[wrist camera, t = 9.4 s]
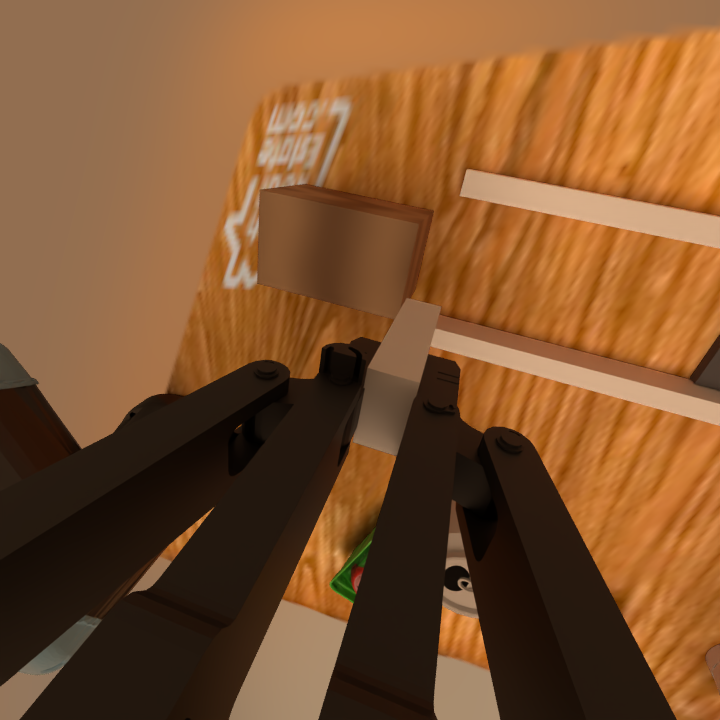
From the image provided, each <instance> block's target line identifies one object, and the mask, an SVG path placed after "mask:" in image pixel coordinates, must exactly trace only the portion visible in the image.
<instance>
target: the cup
mask: <svg viewBox="0 0 720 720" xmlns="http://www.w3.org/2000/svg"><path fill="white" fill-rule="evenodd" d="M706 662H707V665H708V667H709V669H710V672H711V674H712V676H713V678H714V680H715V683H716V686H717V689H718V691H719V694H720V644H719V645H716V646H714V647H712V648H711V649H710V650H709V651H708V652H707V654H706Z"/></svg>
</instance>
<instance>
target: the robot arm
mask: <svg viewBox="0 0 720 720" xmlns="http://www.w3.org/2000/svg"><path fill="white" fill-rule="evenodd" d="M440 310H441V306H437V305H433V304H429V303H425V302H421V301H417V300H413V299H409V298H406V300H405V302H404V304H403V305H402V307H401V309H400V311H399V313H398V314H397V316H396V318H395V320H394V321H393V323H392V325H391V327H390V329H389V330H388V332H387V334H386V336H385V338H384V339H383V341H382V343H381V342H377V341H374V340H370V339H366V338H363V337H360V338H357V339H355V340H353V341H351V343H350V344H344V343H332V344H328V345H326V346H324V347H323V348H322V352H321V360H320V367H319V373H318V374H317V376H316V377H315V378H314V379H297V378H290V371H289V369H288V367H286V366H285V365H283V364H282V363H279V362H276V361H272V360H270V361H269V360H261V361H255V362H252V363H249V364H247V365H245V366H243V367H241V368H239V369H237V370H235V371H233V372H232V373H230V374H228V375H226V376H224V377H222V378H220V379H218V380H216V381H214V382H212V383H210V384H208V385H206V386H204V387H202V388H200V389H198V390H196V391H194V392H193V393H191V394H189V395H187V396H185V397H181V396H178V395H172V394H158V395H155V396H151V397H149V398H147V399H146V400H144V401H143V402H141V403H140V404H139V405H137V406H136V407H134V408H133V409H132V410H131V411H130V412H129V413H128V414H127V415H126V416H125V418H124V419H123V421H122V423H121V424H120V425H119V426H118V428H117V429H116V430H115V432H114V433H113V434H111V435H109V436H107V437H105V438H103V439H101V440H99V441H97V442H95V443H93V444H91V445H89V446H87V447H85V448H83V449H81V447H80V446H79V444H78V443H77V442H76V440H75V439H74V437H73V436H72V435H71V433H70V432H69V431H68V429H67V428H66V427H65V425H64V424H63V423H62V421H61V420H60V418H59V417H58V416H57V414H56V413H55V411H54V410H53V409H52V407H51V406H50V404H49V403H48V401H47V400H46V399H45V397H44V396H43V394H42V393H41V391H40V390H39V389H38V387H37V386H36V384H38V381H37V380H36V379H34V378H31V377H30V375H29V374H28V373H27V372H26V370H25V369H24V368H23V367H22V365H21V364H20V363H19V362H18V361H17V359H16V358H15V357H14V356H13V355H12V353H11V352H10V351H9V350H8V349H7V348H6V347H5V346H4V345H2V344H1V343H0V686H1V685H3V684H4V683H5V682H6V681H8V680H9V679H10V678H11V677H12V676H14V675H15V674H16V673H17V672H21V673H26V674H30V675H44V674H49V673H51V672H54V671H56V670H58V669H60V668H61V667H63V666H64V667H63V668H62V669H61V670H60V672H59V673H58V674H57V675H56V676H55V678H54V679H53V680H52V681H51V682H50V684H49V685H48V686H47V687H46V689H45V690H44V691H43V692H42V693H41V695H40V696H39V697H38V698H37V699H36V701H35V702H34V703H33V704H32V705H31V707H30V708H29V709H28V710H27V711H26V713H25V714H24V715H23V716H22V717H21V719H20V720H229V717H230V713H231V711H232V708H233V705H234V703H235V700H236V698H237V695H238V693H239V691H240V689H241V687H242V684H243V682H244V680H245V678H246V676H247V674H248V671H249V669H250V667H251V665H252V663H253V660H254V658H255V656H256V654H257V652H258V650H259V647H260V645H261V643H262V641H263V639H264V636H265V634H266V632H267V630H268V628H269V625H270V623H271V621H272V619H273V617H274V614H275V612H276V610H277V608H278V606H279V604H280V601H281V599H282V597H283V595H284V593H285V590H286V588H287V586H288V584H289V582H290V580H291V577H292V575H293V573H294V571H295V569H296V566H297V564H298V562H299V560H300V558H301V555H302V553H303V551H304V549H305V547H306V544H307V542H308V540H309V538H310V536H311V534H312V531H313V529H314V527H315V525H316V523H317V520H318V518H319V516H320V514H321V512H322V509H323V507H324V505H325V503H326V501H327V499H328V496H329V494H330V492H331V490H332V488H333V485H334V483H335V481H336V479H337V477H338V474H339V472H340V470H341V468H342V466H343V464H344V461H345V459H346V457H347V455H348V452H349V447H350V442H351V439H352V437H353V435H354V438H353V442H354V443H357V444H360V445H363V446H366V447H370V448H373V449H376V450H379V451H382V452H385V453H388V454H391V455H395V456H397V457H396V461H395V464H394V467H393V471H392V474H391V477H390V481H389V484H388V488H387V491H386V494H385V498H384V501H383V505H382V508H381V511H380V515H379V518H378V522H377V525H376V528H375V532H374V535H373V538H372V542H371V545H370V549H369V552H368V555H367V559H366V562H365V566H364V569H363V572H362V576H361V579H360V583H359V586H358V589H357V593H356V596H355V599H354V603H353V606H352V610H351V613H350V616H349V620H348V623H347V627H346V630H345V633H344V637H343V640H342V644H341V647H340V650H339V654H338V657H337V660H336V664H335V667H334V670H333V673H332V676H331V679H330V683H329V686H328V689H327V692H326V696H325V699H324V702H323V706H322V709H321V713H320V716H319V719H318V720H437V718H436V716H435V713H434V689H435V678H436V667H437V656H438V645H439V634H440V624H441V613H442V602H443V591H444V580H445V569H446V558H447V548H448V537H449V526H450V515H451V504H452V500H454V501H455V502H456V508H455V510H456V514H457V519H458V524H459V528H460V533H461V538H462V542H463V547H464V552H465V556H466V561H467V566H468V570H469V575H470V580H471V584H472V589H473V594H474V598H475V603H476V608H477V612H478V617H479V622H480V626H481V631H482V636H483V640H484V645H485V650H486V654H487V659H488V664H489V668H490V673H491V678H492V682H493V686H494V692H495V696H496V700H497V705H498V710H499V715H500V720H677V719H676V717H675V715H674V714H673V712H672V710H671V708H670V706H669V704H668V702H667V700H666V698H665V696H664V694H663V692H662V691H661V689H660V687H659V685H658V683H657V681H656V679H655V677H654V675H653V673H652V671H651V669H650V667H649V666H648V664H647V662H646V660H645V658H644V656H643V654H642V652H641V650H640V648H639V646H638V644H637V643H636V641H635V639H634V637H633V635H632V633H631V631H630V629H629V627H628V625H627V623H626V621H625V619H624V618H623V616H622V614H621V612H620V610H619V608H618V606H617V604H616V602H615V600H614V598H613V596H612V595H611V593H610V591H609V589H608V587H607V585H606V583H605V581H604V579H603V577H602V575H601V573H600V571H599V570H598V568H597V566H596V564H595V562H594V560H593V558H592V556H591V554H590V552H589V550H588V548H587V547H586V545H585V543H584V541H583V539H582V537H581V535H580V533H579V531H578V529H577V527H576V525H575V524H574V522H573V520H572V518H571V516H570V514H569V512H568V510H567V508H566V506H565V504H564V502H563V500H562V499H561V497H560V495H559V493H558V491H557V489H556V487H555V485H554V483H553V481H552V479H551V477H550V476H549V474H548V472H547V470H546V468H545V466H544V464H543V462H542V460H541V458H540V456H539V454H538V452H537V451H536V449H535V447H534V446H533V444H532V443H531V442H530V440H528V439H527V438H526V437H525V436H523V435H522V434H520V433H519V432H516V431H515V430H512V429H508V428H505V427H491V428H488V429H487V430H486V431H485V433H484V434H483V433H481V432H480V431H478V430H476V429H474V428H472V427H471V426H469V425H468V424H466V423H465V422H464V421H463V420H462V419H461V418H460V412H459V408H458V407H457V399H458V389H459V380H460V379H459V378H460V368H459V367H458V365H457V363H456V362H455V361H451V360H448V359H444V358H440V357H437V356H433V355H429V354H428V353H429V349H430V345H431V342H432V338H433V335H434V331H435V328H436V324H437V321H438V317H439V314H440ZM241 424H242V426H240V427H239V428H237V427H238V426H239V425H241ZM236 428H237V429H236ZM354 432H355V433H354ZM213 507H214V508H213ZM212 508H213V510H212V511H211V512H210V514H209V515H208V516H207V517H206V519H205V520H204V521H203V523H202V524H201V525H200V527H199V528H198V529H197V530H196V532H195V533H194V534H193V536H192V537H191V538H190V539H189V541H188V542H187V543H186V545H185V546H184V547H183V548H182V550H181V551H180V552H179V554H178V555H177V556H176V557H175V559H174V560H173V561H172V563H171V564H170V565H169V567H168V568H167V569H166V571H165V572H164V573H163V574H162V576H161V577H160V578H159V579H158V580H157V581H156V583H155V584H154V585H153V586H152V587H150V588H149V589H147V590H144V591H136V592H132V593H130V594H129V592H130V591H131V590H132V589H133V588H134V586H135V585H136V584H137V583H138V582H139V580H140V579H141V578H142V577H143V576H144V574H145V573H146V572H147V570H148V569H149V568H150V567H151V566H152V565H153V563H154V562H155V561H156V560H157V559H158V557H159V556H160V555H161V554H162V553H163V551H164V550H165V549H166V548H167V546H168V545H169V544H170V543H172V542H173V541H174V540H175V539H176V538H178V537H179V536H180V535H181V534H182V533H184V532H185V531H186V530H187V529H188V528H189V527H191V526H192V525H193V524H194V523H195V522H197V521H198V520H199V519H200V518H201V517H203V516H204V515H205V514H206V513H207V512H208V511H210V510H211V509H212ZM128 594H129V595H128Z"/></svg>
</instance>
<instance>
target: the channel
mask: <svg viewBox="0 0 720 720" xmlns="http://www.w3.org/2000/svg"><path fill="white" fill-rule="evenodd" d="M460 196H463V197H468V198H473V199H478V200H483V201H488V202H493V203H498V204H503V205H507V206H512V207H517V208H522V209H527V210H532V211H537V212H542V213H547V214H552V215H557V216H562V217H567V218H572V219H577V220H582V221H587V222H592V223H597V224H602V225H607V226H612V227H616V228H621V229H626V230H631V231H636V232H641V233H646V234H651V235H656V236H661V237H666V238H671V239H676V240H681V241H686V242H691V243H696V244H701V245H706V246H711V247H716V248H720V216H717V215H712V214H707V213H701V212H696V211H691V210H686V209H680V208H675V207H670V206H664V205H659V204H654V203H648V202H643V201H638V200H633V199H627V198H622V197H617V196H611V195H606V194H601V193H595V192H590V191H585V190H580V189H574V188H569V187H564V186H558V185H553V184H548V183H542V182H537V181H532V180H527V179H521V178H516V177H511V176H505V175H500V174H495V173H489V172H484V171H479V170H474V169H467V170H466V174H465V178H464V182H463V185H462V189H461V193H460ZM430 346H431V347H434V348H438V349H442V350H445V351H449V352H453V353H456V354H460V355H464V356H467V357H471V358H475V359H478V360H482V361H485V362H489V363H493V364H496V365H500V366H504V367H507V368H511V369H515V370H518V371H522V372H526V373H529V374H533V375H537V376H540V377H544V378H547V379H551V380H555V381H558V382H562V383H566V384H569V385H573V386H577V387H580V388H584V389H588V390H591V391H595V392H598V393H602V394H606V395H609V396H613V397H617V398H620V399H624V400H628V401H631V402H635V403H639V404H642V405H646V406H650V407H653V408H657V409H660V410H664V411H668V412H671V413H675V414H679V415H682V416H686V417H690V418H693V419H697V420H701V421H704V422H708V423H712V424H715V425H719V426H720V390H718V389H714V388H711V387H707V386H703V385H699V384H695V383H694V382H693V381H692V380H690V379H687V378H683V377H679V376H675V375H671V374H667V373H663V372H659V371H656V370H652V369H648V368H644V367H640V366H636V365H632V364H629V363H625V362H621V361H617V360H613V359H609V358H605V357H601V356H598V355H594V354H590V353H586V352H582V351H578V350H574V349H570V348H567V347H563V346H559V345H555V344H551V343H547V342H543V341H540V340H536V339H532V338H528V337H524V336H520V335H516V334H512V333H509V332H505V331H501V330H497V329H493V328H489V327H485V326H481V325H478V324H474V323H470V322H466V321H462V320H458V319H454V318H451V317H447V316H443V315H439V317H438V321H437V324H436V328H435V331H434V335H433V338H432V342H431V345H430Z"/></svg>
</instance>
